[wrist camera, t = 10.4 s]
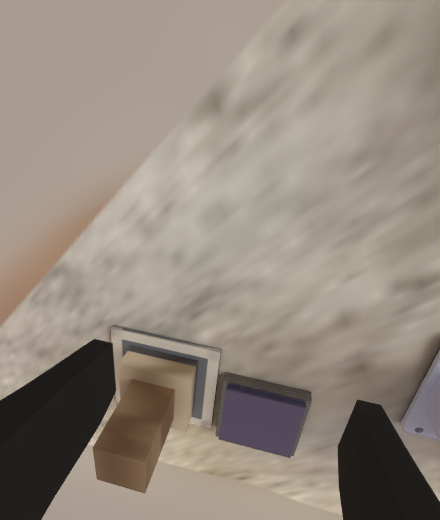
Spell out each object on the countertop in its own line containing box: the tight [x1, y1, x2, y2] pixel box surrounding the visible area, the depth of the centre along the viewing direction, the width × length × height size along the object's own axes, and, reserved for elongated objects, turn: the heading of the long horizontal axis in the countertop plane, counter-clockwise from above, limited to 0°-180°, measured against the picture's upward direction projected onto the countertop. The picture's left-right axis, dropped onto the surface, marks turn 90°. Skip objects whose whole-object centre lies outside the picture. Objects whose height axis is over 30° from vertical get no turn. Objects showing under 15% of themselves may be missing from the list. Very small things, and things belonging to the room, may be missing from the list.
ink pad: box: [216, 372, 311, 458], centre depth 24 cm, size 6×6×1 cm
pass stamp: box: [93, 345, 198, 493], centre depth 22 cm, size 5×5×7 cm
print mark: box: [111, 325, 221, 429], centre depth 25 cm, size 8×8×1 cm
